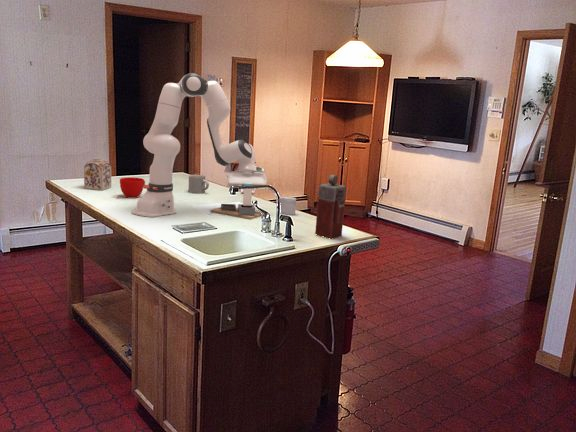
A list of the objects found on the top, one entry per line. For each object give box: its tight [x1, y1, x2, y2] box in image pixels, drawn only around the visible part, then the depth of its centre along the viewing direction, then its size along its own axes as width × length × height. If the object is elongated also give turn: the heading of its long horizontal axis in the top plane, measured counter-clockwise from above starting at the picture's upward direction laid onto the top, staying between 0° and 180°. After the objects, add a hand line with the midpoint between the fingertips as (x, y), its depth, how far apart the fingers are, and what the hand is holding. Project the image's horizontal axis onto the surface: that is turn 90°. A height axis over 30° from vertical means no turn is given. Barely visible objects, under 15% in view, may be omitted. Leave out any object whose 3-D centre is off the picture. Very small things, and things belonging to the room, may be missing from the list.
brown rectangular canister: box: [314, 174, 347, 240], centre depth 237 cm, size 9×11×28 cm
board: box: [209, 206, 262, 220], centre depth 272 cm, size 14×24×1 cm, turn 63°
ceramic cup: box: [119, 176, 146, 199], centre depth 295 cm, size 13×17×10 cm
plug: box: [242, 183, 253, 206], centre depth 266 cm, size 4×4×11 cm
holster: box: [220, 203, 237, 211], centre depth 276 cm, size 8×8×2 cm
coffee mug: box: [188, 174, 210, 195], centre depth 319 cm, size 13×10×10 cm
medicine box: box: [279, 196, 297, 216], centre depth 278 cm, size 8×4×9 cm, turn 74°
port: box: [237, 203, 256, 216], centre depth 268 cm, size 8×8×4 cm
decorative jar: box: [83, 157, 112, 191], centre depth 310 cm, size 12×12×18 cm
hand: (247, 193), depth 265 cm, fingers closed on plug, 4 cm apart
